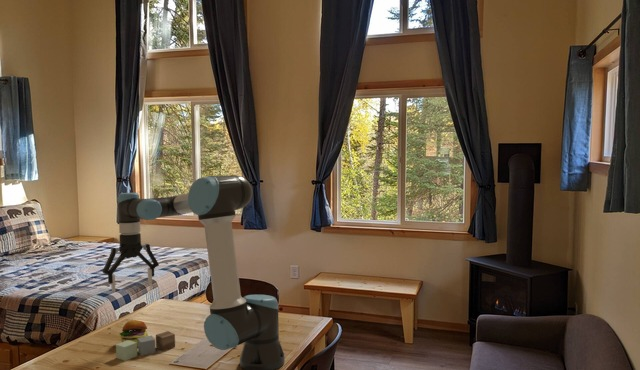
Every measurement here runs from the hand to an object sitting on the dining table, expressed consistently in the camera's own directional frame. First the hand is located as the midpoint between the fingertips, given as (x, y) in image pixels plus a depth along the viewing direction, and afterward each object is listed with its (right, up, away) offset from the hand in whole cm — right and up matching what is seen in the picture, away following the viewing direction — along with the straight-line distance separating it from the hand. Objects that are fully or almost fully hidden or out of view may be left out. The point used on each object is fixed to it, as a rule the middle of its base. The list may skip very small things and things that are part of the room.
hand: (132, 288), depth 185 cm
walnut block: (+14, -21, -4) cm, 26 cm away
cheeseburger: (+1, -22, +1) cm, 22 cm away
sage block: (+3, -22, -12) cm, 25 cm away
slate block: (+8, -22, -8) cm, 25 cm away
